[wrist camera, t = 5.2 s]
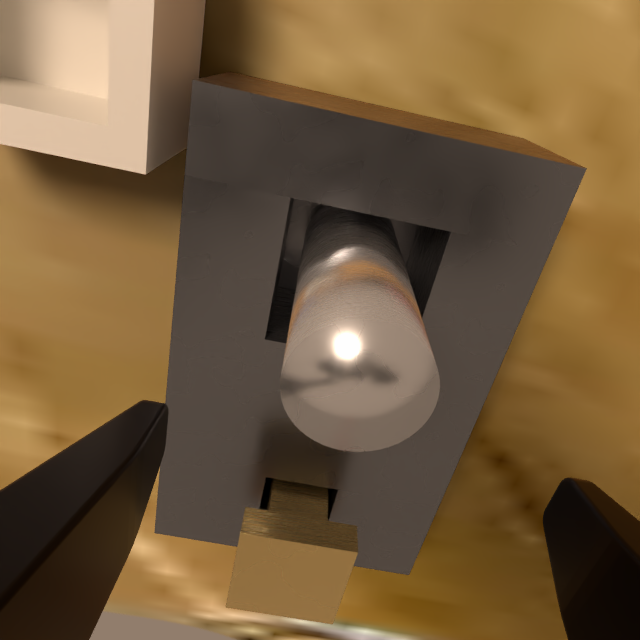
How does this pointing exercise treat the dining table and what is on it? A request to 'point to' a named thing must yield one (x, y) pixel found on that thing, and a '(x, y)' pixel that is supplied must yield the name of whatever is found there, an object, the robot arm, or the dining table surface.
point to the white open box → (99, 78)
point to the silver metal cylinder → (356, 338)
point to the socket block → (280, 284)
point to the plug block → (292, 556)
